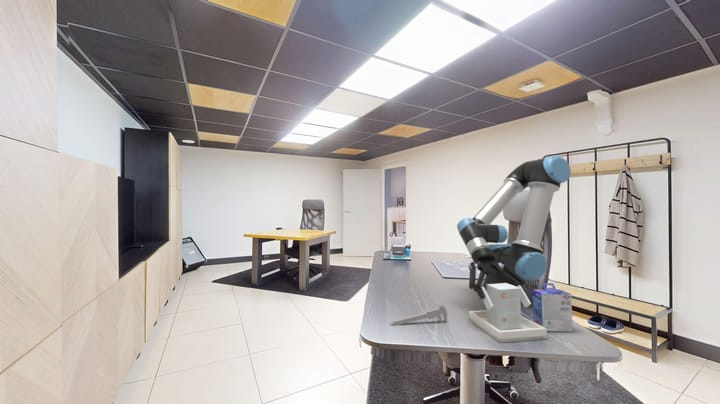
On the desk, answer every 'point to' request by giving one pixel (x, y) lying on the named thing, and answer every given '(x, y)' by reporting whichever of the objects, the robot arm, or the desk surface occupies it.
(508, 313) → the small box
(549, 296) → the ink cartridge box
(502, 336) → the tray
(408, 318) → the caliper
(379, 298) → the desk surface
